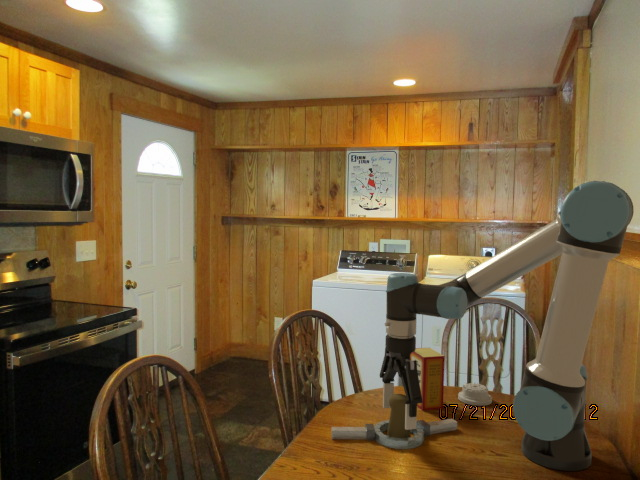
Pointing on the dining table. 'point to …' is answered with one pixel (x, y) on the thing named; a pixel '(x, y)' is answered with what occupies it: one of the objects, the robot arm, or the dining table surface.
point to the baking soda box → (430, 377)
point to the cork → (397, 417)
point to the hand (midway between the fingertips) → (398, 417)
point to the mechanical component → (475, 395)
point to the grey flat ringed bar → (376, 434)
